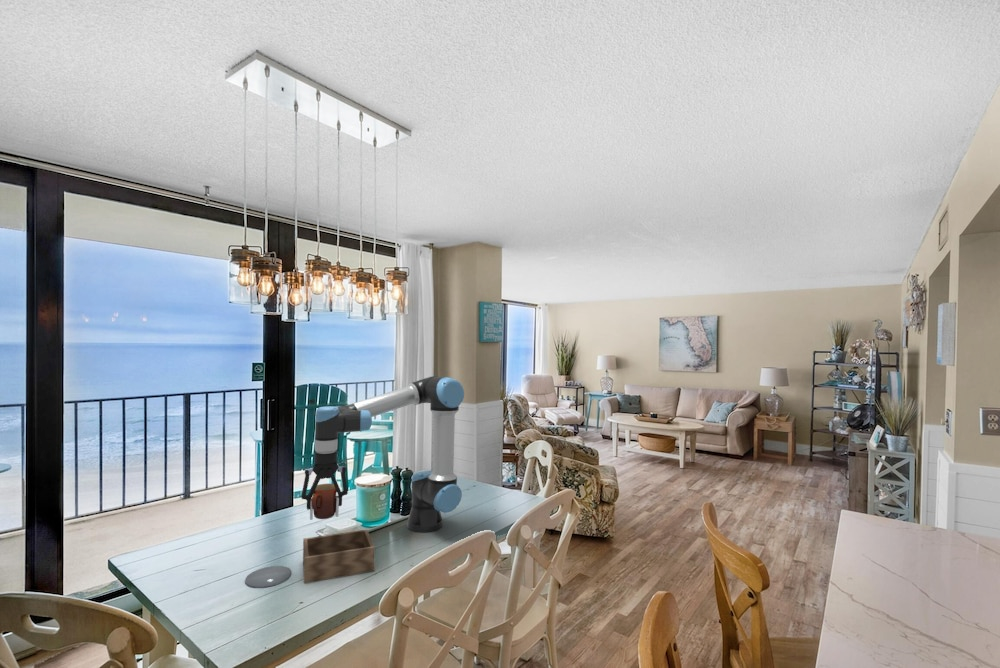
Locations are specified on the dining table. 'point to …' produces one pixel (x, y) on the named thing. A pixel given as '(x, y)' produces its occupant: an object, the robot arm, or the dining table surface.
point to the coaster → (268, 576)
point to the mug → (324, 501)
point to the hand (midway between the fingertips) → (324, 516)
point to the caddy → (337, 555)
